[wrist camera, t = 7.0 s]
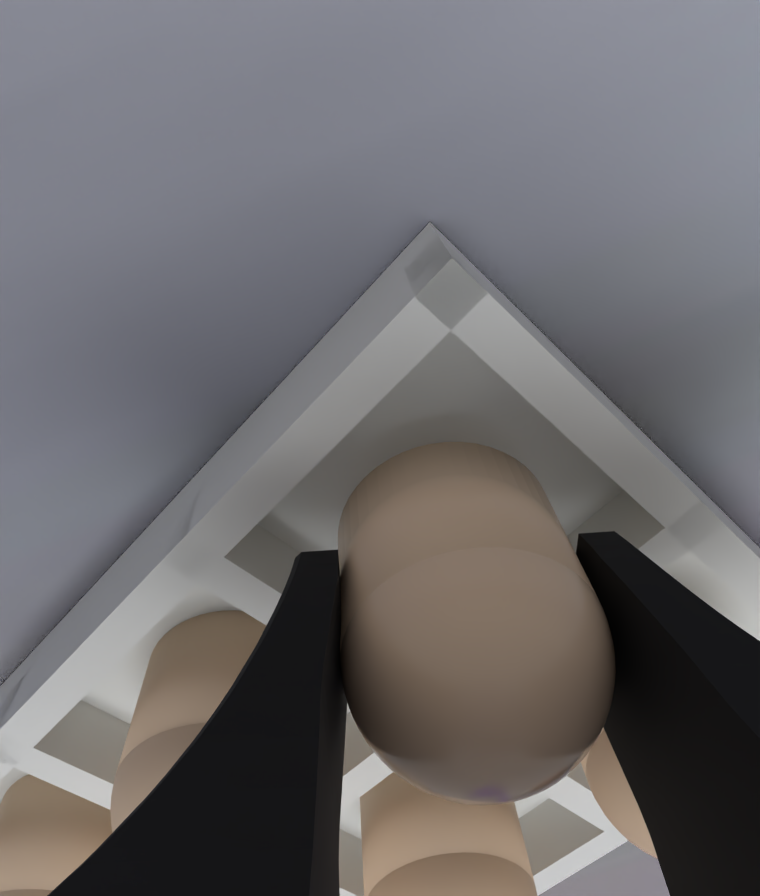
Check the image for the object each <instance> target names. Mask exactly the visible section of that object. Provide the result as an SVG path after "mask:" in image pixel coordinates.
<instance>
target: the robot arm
mask: <svg viewBox="0 0 760 896" xmlns="http://www.w3.org/2000/svg"><path fill="white" fill-rule="evenodd" d="M576 555H577V557H578V559H579V561H580V563H581V565H582V567H583V569H584V571H585V573H586V575H587V577H588V579H589V581H590V583H591V585H592V587H593V589H594V591H595V593H596V595H597V597H598V599H599V601H600V603H601V605H602V607H603V610H604V612H605V615H606V617H607V620H608V623H609V627H610V630H611V634H612V639H613V644H614V651H615V667H616V675H615V686H614V693H613V699H612V703H611V707H610V710H609V713H608V716H607V719H606V722H605V724H604V726H603V728H604V730H605V732H606V735H607V737H608V739H609V741H610V743H611V746H612V748H613V750H614V752H615V755H616V757H617V759H618V761H619V764H620V766H621V768H622V770H623V773H624V775H625V777H626V779H627V781H628V784H629V786H630V788H631V790H632V793H633V795H634V797H635V799H636V802H637V804H638V806H639V809H640V811H641V814H642V816H643V819H644V821H645V824H646V826H647V829H648V831H649V834H650V837H651V840H652V843H653V846H654V848H655V851H656V854H657V857H658V860H659V863H660V866H661V869H662V872H663V875H664V878H665V881H666V884H667V887H668V890H669V893H670V896H760V641H759V640H758V639H756V638H755V637H753V636H752V635H750V634H749V633H747V632H746V631H744V630H743V629H741V628H740V627H739V626H737V625H736V624H734V623H733V622H732V621H730V620H729V619H727V618H726V617H725V616H723V615H722V614H720V613H719V612H718V611H716V610H715V609H714V608H712V607H711V606H710V605H708V604H707V603H706V602H704V601H703V600H702V599H700V598H699V597H698V596H696V595H695V594H694V593H693V592H691V591H690V590H689V589H687V588H686V587H685V586H683V585H682V584H681V583H680V582H678V581H677V580H676V579H675V578H673V577H672V576H671V575H669V574H668V573H667V572H666V571H664V570H663V569H662V568H661V567H659V566H658V565H657V564H656V563H654V562H653V561H652V560H651V559H649V558H648V557H647V556H646V555H644V554H643V553H642V552H641V551H640V550H638V549H637V548H636V547H634V546H633V545H632V544H631V543H629V542H628V541H627V540H626V539H624V538H623V537H622V536H620V535H619V534H618V533H616V532H615V531H609V532H594V533H579V534H578V541H577V549H576ZM340 636H341V589H340V568H339V555H338V550H323V551H307V552H301V553H300V554H299V555H298V556H297V557H295V560H294V563H293V567H292V570H291V572H290V575H289V578H288V580H287V583H286V585H285V588H284V590H283V592H282V595H281V597H280V599H279V601H278V603H277V606H276V608H275V610H274V612H273V614H272V616H271V618H270V620H269V622H268V624H267V625H266V627H265V629H264V631H263V633H262V635H261V637H260V639H259V641H258V643H257V645H256V646H255V648H254V650H253V652H252V653H251V655H250V657H249V658H248V660H247V662H246V663H245V665H244V666H243V668H242V670H241V671H240V673H239V675H238V676H237V678H236V680H235V681H234V683H233V685H232V686H231V688H230V689H229V691H228V692H227V694H226V695H225V697H224V698H223V700H222V701H221V703H220V704H219V706H218V707H217V709H216V710H215V711H214V713H213V714H212V716H211V717H210V718H209V720H208V721H207V723H206V724H205V725H204V727H203V728H202V729H201V731H200V732H199V734H198V735H197V736H196V738H195V739H194V740H193V741H192V743H191V744H190V745H189V746H188V748H187V749H186V750H185V751H184V753H183V754H182V755H181V756H180V758H179V759H178V760H177V761H176V763H175V764H174V765H173V766H172V767H171V769H170V770H169V771H168V772H167V774H166V775H165V776H164V777H163V778H162V780H161V781H160V782H159V783H158V784H157V785H156V787H155V788H154V789H153V790H152V791H151V792H150V793H149V794H148V796H147V797H146V798H145V799H144V800H143V801H142V802H141V803H140V804H139V805H138V806H137V807H136V808H135V809H134V810H133V812H132V813H131V814H130V815H129V816H128V817H127V818H126V819H125V820H124V821H123V822H122V823H121V824H120V825H119V826H118V827H117V828H116V829H115V831H114V832H113V833H112V834H111V835H110V836H109V837H108V838H107V839H106V840H105V841H104V842H103V843H102V844H101V845H100V846H99V847H98V848H97V849H96V850H95V851H94V852H93V853H92V854H91V855H90V856H89V857H88V858H87V859H86V860H85V861H84V862H83V863H82V864H81V865H80V866H79V867H78V868H77V869H76V870H75V871H73V872H72V873H71V874H70V875H69V876H68V877H67V878H66V879H65V880H64V881H63V882H61V883H60V884H59V885H58V886H57V887H56V888H55V889H54V890H53V891H52V892H51V893H49V894H48V895H47V896H340V891H339V829H340V813H341V797H342V781H343V765H344V749H345V732H346V716H347V700H346V696H345V693H344V688H343V683H342V676H341V667H340Z"/></svg>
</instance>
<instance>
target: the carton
mask: <svg viewBox="0 0 760 896" xmlns="http://www.w3.org/2000/svg"><path fill="white" fill-rule="evenodd" d="M441 442H467V443H476V444H480V445H484V446H489V447H492V448H494V449H497V450H500V451H502V452H504V453H506V454H508V455H510V456H512V457H514V458H515V459H517V460H518V461H519V462H521V463H522V464H523V465H525V466H526V467H527V468H528V469H529V470H530V471H531V472H532V473H533V474H534V475H535V477H536V478H537V480H538V481H539V482H540V484H541V485H542V487H543V489H544V491H545V493H546V495H547V497H548V499H549V501H550V503H551V505H552V507H553V509H554V511H555V513H556V515H557V517H558V519H559V521H560V523H561V525H562V527H563V529H564V531H565V533H566V535H567V537H568V539H569V541H570V543H571V545H572V547H573V549H574V551H575V553H576V549H577V541H578V534H579V533H594V532H609V531H615V532H616V533H618V534H619V535H620V536H622V537H623V538H624V539H626V540H627V541H628V542H629V543H631V544H632V545H633V546H634V547H636V548H637V549H638V550H640V551H641V552H642V553H643V554H644V555H646V556H647V557H648V558H649V559H651V560H652V561H653V562H654V563H656V564H657V565H658V566H659V567H661V568H662V569H663V570H664V571H666V572H667V573H668V574H669V575H671V576H672V577H673V578H675V579H676V580H677V581H678V582H680V583H681V584H682V585H683V586H685V587H686V588H687V589H689V590H690V591H691V592H693V593H694V594H695V595H696V596H698V597H699V598H700V599H702V600H703V601H704V602H706V603H707V604H708V605H710V606H711V607H712V608H714V609H715V610H716V611H718V612H719V613H720V614H722V615H723V616H725V617H726V618H727V619H729V620H730V621H732V622H733V623H734V624H736V625H737V626H739V627H740V628H741V629H743V630H744V631H746V632H747V633H749V634H750V635H752V636H753V637H755V638H756V639H758V640H759V641H760V548H759V547H758V546H757V545H756V544H755V543H754V542H753V541H752V540H751V539H750V538H749V537H748V536H747V535H746V534H745V533H744V532H743V531H742V530H741V529H740V528H739V527H738V526H737V525H736V524H735V523H734V522H733V521H732V520H731V519H730V518H729V517H728V516H727V515H726V514H725V513H724V512H723V511H722V510H721V509H720V508H719V507H718V506H717V505H716V504H715V503H714V502H713V501H712V500H711V499H710V498H709V497H708V496H707V495H706V494H705V493H704V492H703V491H702V490H701V489H700V488H699V487H698V486H697V485H696V484H695V483H694V482H693V481H692V480H691V479H690V478H689V477H688V476H687V475H686V474H684V473H683V472H682V471H681V470H680V469H679V468H678V467H677V466H676V465H675V464H674V463H673V462H672V461H671V460H670V459H669V458H668V457H667V456H666V455H665V454H664V453H663V452H662V451H661V450H660V449H659V448H658V447H657V446H656V445H655V444H654V443H653V442H652V441H651V440H650V439H649V438H648V437H647V436H646V435H645V434H644V433H643V432H642V431H641V430H640V429H639V428H638V427H637V426H636V425H635V424H634V423H633V422H632V421H631V420H630V419H629V418H628V417H627V416H626V415H625V414H624V413H623V412H622V411H621V410H620V409H619V408H618V407H617V406H616V405H615V404H614V403H613V402H612V401H611V400H610V399H609V398H608V397H607V396H606V395H605V394H604V393H603V392H602V391H601V390H599V389H598V388H597V387H596V386H595V385H594V384H593V383H592V382H591V381H590V380H589V379H588V378H587V377H586V376H585V375H584V374H583V373H582V372H581V371H580V370H579V369H578V368H577V367H576V366H575V365H574V364H573V363H572V362H571V361H570V360H569V359H568V358H567V357H566V356H565V355H564V354H563V353H562V352H561V351H560V350H559V349H558V348H557V347H556V346H555V345H554V344H553V343H552V342H551V341H550V340H549V339H548V338H547V337H546V336H545V335H544V334H543V333H542V332H541V331H540V330H539V329H538V328H537V327H536V326H535V325H534V324H533V323H532V322H531V321H530V320H529V319H528V318H527V317H526V316H525V315H524V314H523V313H522V312H521V311H520V310H519V309H518V308H517V307H516V306H515V305H513V304H512V303H511V302H510V301H509V300H508V299H507V298H506V297H505V296H504V295H503V294H502V293H501V292H500V291H499V290H498V289H497V288H496V287H495V286H494V285H493V284H492V283H491V282H490V281H489V280H488V279H487V278H486V277H485V276H484V275H483V274H482V273H481V272H480V271H479V270H478V269H477V268H476V267H475V266H474V265H473V264H472V263H471V262H470V261H469V260H468V259H467V258H466V257H465V256H464V255H463V254H462V253H461V252H460V251H459V250H458V249H457V248H456V247H455V246H454V245H453V244H452V243H451V242H450V241H449V240H448V239H447V238H446V237H445V236H444V235H443V234H442V233H441V232H440V231H439V230H438V229H437V228H436V227H435V226H434V225H433V224H432V223H431V222H429V223H428V225H427V226H426V227H425V228H424V229H423V230H422V231H421V232H420V233H419V234H418V235H417V236H416V237H415V239H414V240H413V241H412V242H411V243H410V244H409V245H408V246H407V247H406V248H405V249H404V250H403V252H402V253H401V254H400V255H399V256H398V257H397V258H396V259H395V260H394V261H393V262H392V263H391V264H390V266H389V267H388V268H387V269H386V270H385V271H384V272H383V273H382V274H381V275H380V276H379V277H378V279H377V280H376V281H375V282H374V283H373V284H372V285H371V286H370V287H369V288H368V289H367V290H366V292H365V293H364V294H363V295H362V296H361V297H360V298H359V299H358V300H357V301H356V302H355V303H354V304H353V306H352V307H351V308H350V309H349V310H348V311H347V312H346V313H345V314H344V315H343V316H342V317H341V319H340V320H339V321H338V322H337V323H336V324H335V325H334V326H333V327H332V328H331V329H330V330H329V332H328V333H327V334H326V335H325V336H324V337H323V338H322V339H321V340H320V341H319V342H318V343H317V344H316V346H315V347H314V348H313V349H312V350H311V351H310V352H309V353H308V354H307V355H306V356H305V357H304V359H303V360H302V361H301V362H300V363H299V364H298V365H297V366H296V367H295V368H294V369H293V370H292V371H291V373H290V374H289V375H288V376H287V377H286V378H285V379H284V380H283V381H282V382H281V383H280V384H279V386H278V387H277V388H276V389H275V390H274V391H273V392H272V393H271V394H270V395H269V396H268V397H267V399H266V400H265V401H264V402H263V403H262V404H261V405H260V406H259V407H258V408H257V409H256V410H255V411H254V413H253V414H252V415H251V416H250V417H249V418H248V419H247V420H246V421H245V422H244V423H243V424H242V426H241V427H240V428H239V429H238V430H237V431H236V432H235V433H234V434H233V435H232V436H231V437H230V439H229V440H228V441H227V442H226V443H225V444H224V445H223V446H222V447H221V448H220V449H219V450H218V451H217V453H216V454H215V455H214V456H213V457H212V458H211V459H210V460H209V461H208V462H207V463H206V464H205V466H204V467H203V468H202V469H201V470H200V471H199V472H198V473H197V474H196V475H195V476H194V477H193V478H192V480H191V481H190V482H189V483H188V484H187V485H186V486H185V487H184V488H183V489H182V490H181V491H180V493H179V494H178V495H177V496H176V497H175V498H174V499H173V500H172V501H171V502H170V503H169V504H168V506H167V507H166V508H165V509H164V510H163V511H162V512H161V513H160V514H159V515H158V516H157V517H156V518H155V520H154V521H153V522H152V523H151V524H150V525H149V526H148V527H147V528H146V529H145V530H144V531H143V533H142V534H141V535H140V536H139V537H138V538H137V539H136V540H135V541H134V542H133V543H132V544H131V546H130V547H129V548H128V549H127V550H126V551H125V552H124V553H123V554H122V555H121V556H120V557H119V558H118V560H117V561H116V562H115V563H114V564H113V565H112V566H111V567H110V568H109V569H108V570H107V571H106V573H105V574H104V575H103V576H102V577H101V578H100V579H99V580H98V581H97V582H96V583H95V584H94V585H93V587H92V588H91V589H90V590H89V591H88V592H87V593H86V594H85V595H84V596H83V597H82V598H81V600H80V601H79V602H78V603H77V604H76V605H75V606H74V607H73V608H72V609H71V610H70V611H69V613H68V614H67V615H66V616H65V617H64V618H63V619H62V620H61V621H60V622H59V623H58V624H57V625H56V627H55V628H54V629H53V630H52V631H51V632H50V633H49V634H48V635H47V636H46V637H45V638H44V640H43V641H42V642H41V643H40V644H39V645H38V646H37V647H36V648H35V649H34V650H33V651H32V653H31V654H30V655H29V656H28V657H27V658H26V659H25V660H24V661H23V662H22V663H21V664H20V665H19V667H18V668H17V669H16V670H15V671H14V672H13V673H12V674H11V675H10V676H9V677H8V678H7V680H6V681H5V682H4V683H3V684H2V685H1V686H0V896H47V895H48V894H49V893H51V892H52V891H53V890H54V889H55V888H56V887H57V886H58V885H59V884H60V883H61V882H63V881H64V880H65V879H66V878H67V877H68V876H69V875H70V874H71V873H72V872H73V871H75V870H76V869H77V868H78V867H79V866H80V865H81V864H82V863H83V862H84V861H85V860H86V859H87V858H88V857H89V856H90V855H91V854H92V853H93V852H94V851H95V850H96V849H97V848H98V847H99V846H100V845H101V844H102V843H103V842H104V841H105V840H106V839H107V838H108V837H109V836H110V835H111V834H112V833H113V832H114V831H115V829H116V828H117V827H118V826H119V825H120V824H121V823H122V822H123V821H124V820H125V819H126V818H127V817H128V816H129V815H130V814H131V813H132V812H133V810H134V809H135V808H136V807H137V806H138V805H139V804H140V803H141V802H142V801H143V800H144V799H145V798H146V797H147V796H148V794H149V793H150V792H151V791H152V790H153V789H154V788H155V787H156V785H157V784H158V783H159V782H160V781H161V780H162V778H163V777H164V776H165V775H166V774H167V772H168V771H169V770H170V769H171V767H172V766H173V765H174V764H175V763H176V761H177V760H178V759H179V758H180V756H181V755H182V754H183V753H184V751H185V750H186V749H187V748H188V746H189V745H190V744H191V743H192V741H193V740H194V739H195V738H196V736H197V735H198V734H199V732H200V731H201V729H202V728H203V727H204V725H205V724H206V723H207V721H208V720H209V718H210V717H211V716H212V714H213V713H214V711H215V710H216V709H217V707H218V706H219V704H220V703H221V701H222V700H223V698H224V697H225V695H226V694H227V692H228V691H229V689H230V688H231V686H232V685H233V683H234V681H235V680H236V678H237V676H238V675H239V673H240V671H241V670H242V668H243V666H244V665H245V663H246V662H247V660H248V658H249V657H250V655H251V653H252V652H253V650H254V648H255V646H256V645H257V643H258V641H259V639H260V637H261V635H262V633H263V631H264V629H265V627H266V625H267V624H268V622H269V620H270V618H271V616H272V614H273V612H274V610H275V608H276V606H277V603H278V601H279V599H280V597H281V595H282V592H283V590H284V588H285V585H286V583H287V580H288V578H289V575H290V572H291V570H292V567H293V563H294V560H295V557H297V556H298V555H299V554H300V553H301V552H307V551H323V550H338V528H339V521H340V518H341V515H342V511H343V508H344V506H345V504H346V502H347V500H348V498H349V497H350V495H351V494H352V492H353V491H354V489H355V488H356V486H357V485H358V484H359V483H360V482H361V481H362V480H363V479H364V478H365V477H366V476H367V475H368V474H369V473H370V472H371V471H373V470H374V469H375V468H376V467H377V466H379V465H380V464H382V463H384V462H385V461H387V460H388V459H390V458H392V457H394V456H396V455H398V454H400V453H402V452H405V451H407V450H410V449H413V448H415V447H419V446H424V445H428V444H433V443H441ZM626 841H630V842H631V843H633V844H634V845H635V846H637V847H638V848H640V849H641V850H642V851H644V852H645V853H647V854H649V855H651V856H653V857H655V858H657V859H658V857H657V854H656V851H655V848H654V846H653V843H652V840H651V837H650V834H649V831H648V829H647V826H646V824H645V821H644V819H643V816H642V814H641V811H640V809H639V806H638V804H637V802H636V799H635V797H634V795H633V793H632V790H631V788H630V786H629V784H628V781H627V779H626V777H625V775H624V773H623V770H622V768H621V766H620V764H619V761H618V759H617V757H616V755H615V752H614V750H613V748H612V746H611V743H610V741H609V739H608V737H607V735H606V732H605V730H604V728H603V729H602V731H601V733H600V735H599V737H598V738H597V740H596V741H595V743H594V745H593V746H592V748H591V749H590V751H589V752H588V754H587V755H586V756H585V758H584V759H583V760H582V761H581V762H580V763H579V764H578V765H577V766H576V767H575V768H574V769H573V770H572V771H571V772H570V773H569V774H568V775H567V776H566V777H564V778H563V779H562V780H560V781H559V782H558V783H556V784H555V785H553V786H551V787H550V788H548V789H546V790H544V791H542V792H540V793H538V794H536V795H533V796H530V797H528V798H525V799H522V800H519V801H515V802H511V803H506V804H498V805H467V804H459V803H455V802H450V801H447V800H444V799H441V798H438V797H435V796H433V795H430V794H427V793H425V792H423V791H421V790H419V789H417V788H416V787H414V786H413V785H411V784H410V783H408V782H406V781H405V780H403V779H402V778H400V777H399V776H398V775H396V774H395V773H394V772H393V771H392V770H391V769H390V768H388V767H387V766H386V765H385V764H384V763H383V762H382V761H381V760H380V759H379V757H378V756H377V755H376V754H375V753H374V752H373V750H372V749H371V748H370V746H369V745H368V743H367V742H366V741H365V739H364V738H363V736H362V734H361V733H360V731H359V729H358V727H357V725H356V723H355V721H354V719H353V717H352V714H351V712H350V709H349V706H348V703H347V716H346V732H345V749H344V765H343V781H342V797H341V813H340V829H339V891H340V896H538V895H540V894H541V893H543V892H545V891H546V890H548V889H550V888H551V887H553V886H554V885H556V884H558V883H559V882H561V881H563V880H564V879H566V878H568V877H569V876H571V875H572V874H574V873H576V872H577V871H579V870H581V869H582V868H584V867H586V866H587V865H589V864H590V863H592V862H594V861H595V860H597V859H599V858H600V857H602V856H604V855H605V854H607V853H608V852H610V851H612V850H613V849H615V848H617V847H618V846H620V845H622V844H623V843H625V842H626Z"/></svg>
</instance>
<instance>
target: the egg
mask: <svg viewBox="0 0 760 896" xmlns="http://www.w3.org/2000/svg"><path fill="white" fill-rule="evenodd" d="M338 555H339V568H340V589H341V636H340V667H341V676H342V683H343V688H344V693H345V696H346V700H347V703H348V706H349V709H350V712H351V714H352V717H353V719H354V721H355V723H356V725H357V727H358V729H359V731H360V733H361V734H362V736H363V738H364V739H365V741H366V742H367V743H368V745H369V746H370V748H371V749H372V750H373V752H374V753H375V754H376V755H377V756H378V757H379V759H380V760H381V761H382V762H383V763H384V764H385V765H386V766H387V767H388V768H390V769H391V770H392V771H393V772H394V773H395V774H396V775H398V776H399V777H400V778H402V779H403V780H405V781H406V782H408V783H410V784H411V785H413V786H414V787H416V788H417V789H419V790H421V791H423V792H425V793H427V794H430V795H433V796H435V797H438V798H441V799H444V800H447V801H450V802H455V803H459V804H467V805H498V804H506V803H511V802H515V801H519V800H522V799H525V798H528V797H530V796H533V795H536V794H538V793H540V792H542V791H544V790H546V789H548V788H550V787H551V786H553V785H555V784H556V783H558V782H559V781H560V780H562V779H563V778H564V777H566V776H567V775H568V774H569V773H570V772H571V771H572V770H573V769H574V768H575V767H576V766H577V765H578V764H579V763H580V762H581V761H582V760H583V759H584V758H585V756H586V755H587V754H588V752H589V751H590V749H591V748H592V746H593V745H594V743H595V741H596V740H597V738H598V737H599V735H600V733H601V731H602V729H603V726H604V724H605V722H606V719H607V716H608V713H609V710H610V707H611V703H612V699H613V693H614V686H615V675H616V667H615V651H614V644H613V639H612V634H611V630H610V627H609V623H608V620H607V617H606V615H605V612H604V610H603V607H602V605H601V603H600V601H599V599H598V597H597V595H596V593H595V591H594V589H593V587H592V585H591V583H590V581H589V579H588V577H587V575H586V573H585V571H584V569H583V567H582V565H581V563H580V561H579V559H578V557H577V555H576V553H575V551H574V549H573V547H572V545H571V543H570V541H569V539H568V537H567V535H566V533H565V531H564V529H563V527H562V525H561V523H560V521H559V519H558V517H557V515H556V513H555V511H554V509H553V507H552V505H551V503H550V501H549V499H548V497H547V495H546V493H545V491H544V489H543V487H542V485H541V484H540V482H539V481H538V480H537V478H536V477H535V475H534V474H533V473H532V472H531V471H530V470H529V469H528V468H527V467H526V466H525V465H523V464H522V463H521V462H519V461H518V460H517V459H515V458H514V457H512V456H510V455H508V454H506V453H504V452H502V451H500V450H497V449H494V448H492V447H489V446H484V445H480V444H476V443H467V442H441V443H433V444H428V445H424V446H419V447H415V448H413V449H410V450H407V451H405V452H402V453H400V454H398V455H396V456H394V457H392V458H390V459H388V460H387V461H385V462H384V463H382V464H380V465H379V466H377V467H376V468H375V469H374V470H373V471H371V472H370V473H369V474H368V475H367V476H366V477H365V478H364V479H363V480H362V481H361V482H360V483H359V484H358V485H357V486H356V488H355V489H354V491H353V492H352V494H351V495H350V497H349V498H348V500H347V502H346V504H345V506H344V508H343V511H342V515H341V518H340V521H339V528H338Z"/></svg>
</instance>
